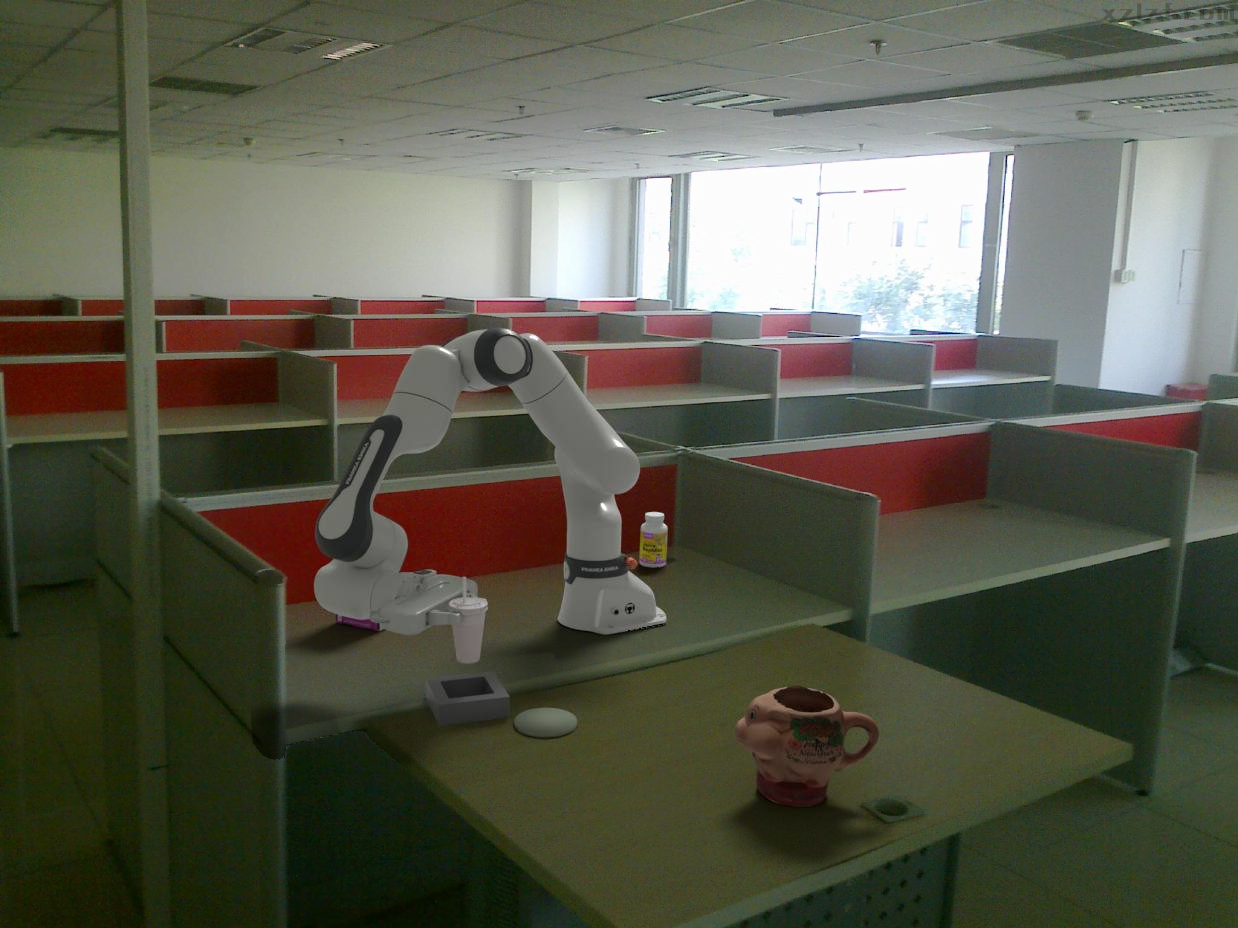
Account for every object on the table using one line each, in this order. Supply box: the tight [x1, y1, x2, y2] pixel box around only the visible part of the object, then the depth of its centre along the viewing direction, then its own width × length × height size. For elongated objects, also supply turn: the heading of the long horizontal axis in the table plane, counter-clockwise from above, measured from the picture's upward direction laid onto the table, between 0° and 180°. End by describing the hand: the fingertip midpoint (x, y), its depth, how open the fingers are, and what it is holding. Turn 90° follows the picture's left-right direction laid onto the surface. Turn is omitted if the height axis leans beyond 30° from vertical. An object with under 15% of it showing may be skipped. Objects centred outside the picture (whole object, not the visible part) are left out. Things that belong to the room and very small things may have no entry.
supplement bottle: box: [638, 511, 668, 569], centre depth 262 cm, size 7×7×13 cm
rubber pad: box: [513, 707, 578, 739], centre depth 170 cm, size 10×10×1 cm
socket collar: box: [425, 670, 511, 727], centre depth 175 cm, size 12×12×4 cm
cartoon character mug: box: [734, 685, 880, 808], centre depth 149 cm, size 20×12×14 cm, turn 94°
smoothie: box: [448, 576, 489, 664], centre depth 173 cm, size 6×6×14 cm
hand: (472, 612), depth 172 cm, fingers closed on smoothie, 6 cm apart
